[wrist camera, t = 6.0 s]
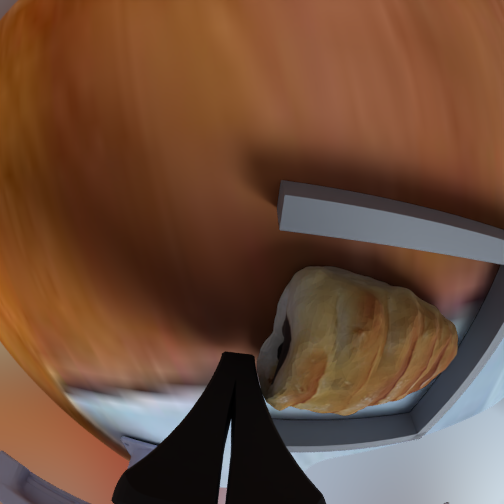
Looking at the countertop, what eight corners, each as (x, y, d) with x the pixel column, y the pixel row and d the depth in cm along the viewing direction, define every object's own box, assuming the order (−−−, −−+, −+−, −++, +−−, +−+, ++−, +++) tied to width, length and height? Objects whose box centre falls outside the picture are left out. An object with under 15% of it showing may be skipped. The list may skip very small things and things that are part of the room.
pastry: (467, 287, 10) (508, 337, 7) (405, 380, 13) (424, 431, 10) (287, 247, 10) (296, 315, 7) (250, 368, 13) (245, 434, 10)
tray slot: (413, 418, 16) (420, 438, 14) (241, 423, 16) (239, 449, 14) (521, 235, 9) (544, 253, 7) (280, 179, 9) (285, 194, 7)
